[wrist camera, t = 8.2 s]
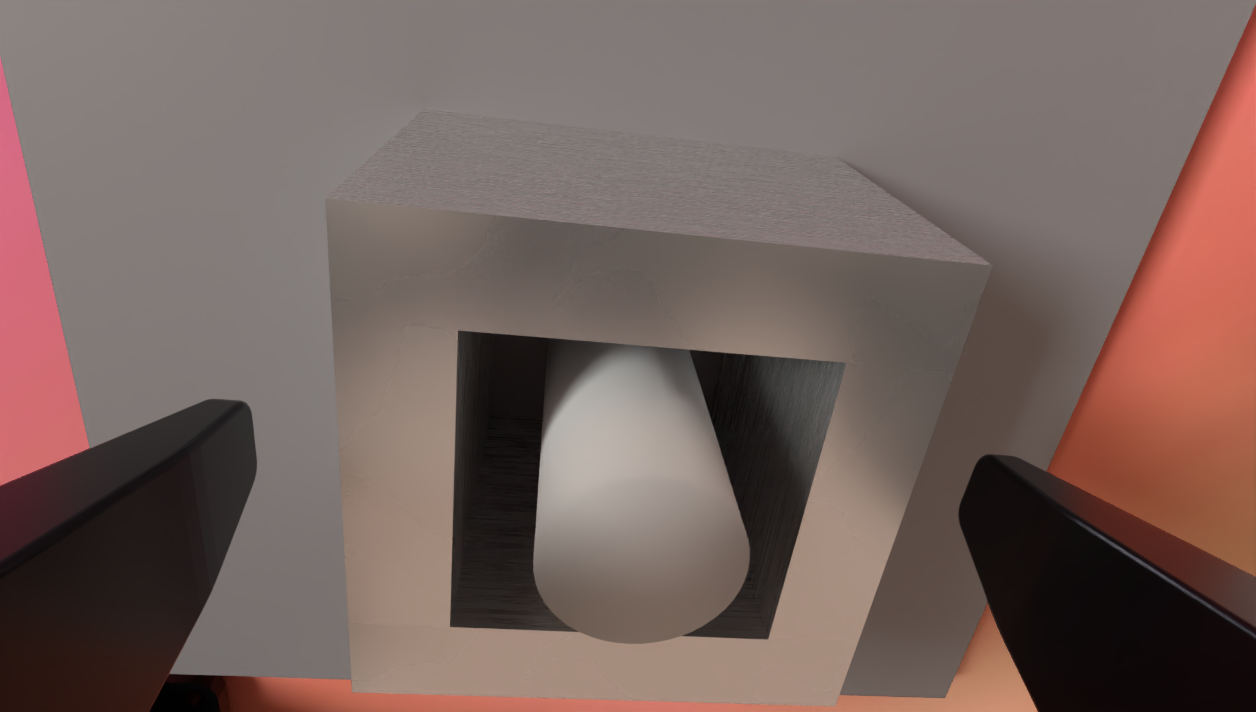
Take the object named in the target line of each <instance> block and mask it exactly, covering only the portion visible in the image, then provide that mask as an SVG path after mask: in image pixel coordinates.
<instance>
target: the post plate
mask: <svg viewBox="0 0 1256 712" xmlns="http://www.w3.org/2000/svg"><path fill="white" fill-rule="evenodd" d="M1255 5H1256V0H0V56H1V61H2V65H3V70H4V74H5V78H6V83H7V87H8V92H9V96H10V100H11V105H12V109H13V113H14V118H15V122H16V127H17V131H18V135H19V140H20V144H21V149H22V153H23V157H24V162H25V166H26V170H27V175H28V179H29V184H30V188H31V192H32V197H33V201H34V206H35V210H36V214H37V219H38V223H39V227H40V232H41V236H42V241H43V245H44V249H45V254H46V258H47V263H48V267H49V271H50V276H51V280H52V284H53V289H54V293H55V298H56V302H57V306H58V311H59V315H60V320H61V324H62V328H63V333H64V337H65V341H66V346H67V350H68V355H69V359H70V363H71V368H72V372H73V377H74V381H75V385H76V390H77V394H78V398H79V403H80V407H81V412H82V416H83V420H84V425H85V429H86V434H87V438H88V442H89V447H90V448H92V447H94V446H97V445H99V444H101V443H104V442H106V441H109V440H111V439H113V438H116V437H118V436H121V435H123V434H125V433H128V432H130V431H133V430H135V429H137V428H140V427H142V426H145V425H147V424H149V423H152V422H154V421H157V420H159V419H161V418H164V417H166V416H169V415H171V414H173V413H176V412H178V411H181V410H183V409H185V408H188V407H190V406H192V405H195V404H197V403H200V402H202V401H204V400H207V399H227V400H240V401H244V402H246V403H247V404H248V405H249V407H250V409H251V412H252V418H253V427H254V436H255V445H256V454H257V472H256V477H255V481H254V484H253V487H252V489H251V492H250V494H249V497H248V500H247V502H246V505H245V507H244V510H243V513H242V515H241V518H240V521H239V523H238V526H237V528H236V531H235V534H234V536H233V539H232V542H231V544H230V547H229V549H228V552H227V555H226V557H225V560H224V562H223V565H222V568H221V570H220V573H219V575H218V578H217V580H216V583H215V585H214V587H213V590H212V592H211V594H210V596H209V598H208V600H207V602H206V605H205V607H204V609H203V611H202V613H201V614H200V616H199V618H198V620H197V622H196V624H195V626H194V628H193V630H192V632H191V633H190V635H189V637H188V639H187V641H186V643H185V645H184V647H183V649H182V650H181V652H180V654H179V656H178V658H177V660H176V662H175V664H174V666H173V668H172V669H171V671H170V673H169V674H189V675H221V676H252V677H284V678H316V679H348V680H351V664H350V645H349V627H348V609H347V590H346V572H345V553H344V535H343V517H342V498H341V480H340V461H339V443H338V425H337V406H336V388H335V369H334V351H333V332H332V314H331V296H330V277H329V259H328V240H327V222H326V204H325V198H326V197H327V196H328V195H329V194H330V193H331V192H332V191H333V190H334V189H336V188H337V187H338V186H339V185H340V184H341V183H342V182H343V181H344V180H346V179H347V178H348V177H349V176H350V175H351V174H352V173H353V172H354V171H355V170H357V169H358V168H359V167H360V166H361V165H362V164H363V163H364V162H365V161H366V160H368V159H369V158H370V157H371V156H372V155H373V154H374V153H375V152H376V151H377V150H379V149H380V148H381V147H382V146H383V145H384V144H385V143H386V142H387V141H388V140H390V139H391V138H392V137H393V136H394V135H395V134H396V133H397V132H398V131H400V130H401V129H402V128H403V127H404V126H405V125H406V124H407V123H408V122H409V121H411V120H412V119H413V118H414V117H415V116H416V115H417V114H418V113H419V112H420V111H422V110H423V109H428V110H436V111H445V112H453V113H462V114H471V115H479V116H488V117H497V118H505V119H514V120H523V121H531V122H540V123H548V124H557V125H566V126H574V127H583V128H592V129H600V130H609V131H617V132H626V133H635V134H643V135H652V136H661V137H669V138H678V139H686V140H695V141H704V142H712V143H721V144H730V145H738V146H747V147H755V148H764V149H773V150H781V151H790V152H799V153H807V154H816V155H824V156H833V157H837V158H838V159H840V160H841V161H843V162H844V163H846V164H847V165H849V166H850V167H851V168H853V169H854V170H856V171H857V172H859V173H860V174H862V175H863V176H864V177H866V178H867V179H869V180H870V181H872V182H873V183H874V184H876V185H877V186H879V187H880V188H882V189H883V190H885V191H886V192H887V193H889V194H890V195H892V196H893V197H895V198H896V199H898V200H899V201H900V202H902V203H903V204H905V205H906V206H908V207H909V208H911V209H912V210H913V211H915V212H916V213H918V214H919V215H921V216H922V217H923V218H925V219H926V220H928V221H929V222H931V223H932V224H934V225H935V226H936V227H938V228H939V229H941V230H942V231H944V232H945V233H947V234H948V235H949V236H951V237H952V238H954V239H955V240H957V241H958V242H960V243H961V244H962V245H964V246H965V247H967V248H968V249H970V250H971V251H972V252H974V253H975V254H977V255H978V256H980V257H981V258H983V259H984V260H985V261H987V262H988V263H990V264H991V265H993V266H992V269H991V272H990V275H989V277H988V280H987V283H986V286H985V288H984V291H983V294H982V297H981V300H980V302H979V305H978V308H977V311H976V314H975V316H974V319H973V322H972V325H971V328H970V330H969V333H968V336H967V339H966V342H965V344H964V347H963V350H962V353H961V356H960V358H959V361H958V364H957V367H956V370H955V372H954V375H953V378H952V381H951V384H950V386H949V389H948V392H947V395H946V398H945V400H944V403H943V406H942V409H941V412H940V414H939V417H938V420H937V423H936V426H935V428H934V431H933V434H932V437H931V440H930V442H929V445H928V448H927V451H926V454H925V456H924V459H923V462H922V465H921V468H920V470H919V473H918V476H917V479H916V482H915V484H914V487H913V490H912V493H911V496H910V498H909V501H908V504H907V507H906V510H905V512H904V515H903V518H902V521H901V524H900V526H899V529H898V532H897V535H896V538H895V540H894V543H893V546H892V549H891V552H890V554H889V557H888V560H887V563H886V565H885V568H884V571H883V574H882V577H881V579H880V582H879V585H878V588H877V591H876V593H875V596H874V599H873V602H872V605H871V607H870V610H869V613H868V616H867V619H866V621H865V624H864V627H863V630H862V633H861V635H860V638H859V641H858V644H857V647H856V649H855V652H854V655H853V658H852V661H851V663H850V666H849V669H848V672H847V675H846V677H845V680H844V683H843V686H842V689H841V691H840V694H839V695H859V696H891V697H923V698H945V697H946V694H947V692H948V690H949V688H950V685H951V683H952V681H953V679H954V677H955V674H956V672H957V670H958V668H959V665H960V663H961V661H962V659H963V656H964V654H965V652H966V650H967V648H968V645H969V643H970V641H971V639H972V636H973V634H974V632H975V630H976V627H977V625H978V623H979V621H980V619H981V616H982V614H983V612H984V610H985V607H986V605H987V603H988V601H987V598H986V596H985V593H984V590H983V587H982V585H981V582H980V579H979V576H978V574H977V571H976V568H975V565H974V563H973V560H972V557H971V555H970V552H969V549H968V546H967V544H966V541H965V538H964V535H963V533H962V530H961V527H960V524H959V518H958V511H959V505H960V502H961V499H962V497H963V494H964V492H965V489H966V487H967V484H968V482H969V479H970V477H971V474H972V472H973V469H974V467H975V464H976V463H977V461H978V460H979V459H980V458H981V457H982V456H984V455H987V454H994V455H1009V456H1015V457H1018V458H1020V459H1022V460H1024V461H1026V462H1028V463H1030V464H1032V465H1034V466H1036V467H1038V468H1040V469H1042V470H1044V471H1047V469H1048V467H1049V465H1050V462H1051V460H1052V458H1053V456H1054V453H1055V451H1056V449H1057V447H1058V445H1059V442H1060V440H1061V438H1062V436H1063V433H1064V431H1065V429H1066V427H1067V424H1068V422H1069V420H1070V418H1071V416H1072V413H1073V411H1074V409H1075V407H1076V404H1077V402H1078V400H1079V398H1080V395H1081V393H1082V391H1083V389H1084V387H1085V384H1086V382H1087V380H1088V378H1089V375H1090V373H1091V371H1092V369H1093V366H1094V364H1095V362H1096V360H1097V358H1098V355H1099V353H1100V351H1101V349H1102V346H1103V344H1104V342H1105V340H1106V337H1107V335H1108V333H1109V331H1110V329H1111V326H1112V324H1113V322H1114V320H1115V317H1116V315H1117V313H1118V311H1119V308H1120V306H1121V304H1122V302H1123V300H1124V297H1125V295H1126V293H1127V291H1128V288H1129V286H1130V284H1131V282H1132V279H1133V277H1134V275H1135V273H1136V271H1137V268H1138V266H1139V264H1140V262H1141V259H1142V257H1143V255H1144V253H1145V250H1146V248H1147V246H1148V244H1149V242H1150V239H1151V237H1152V235H1153V233H1154V230H1155V228H1156V226H1157V224H1158V221H1159V219H1160V217H1161V215H1162V213H1163V210H1164V208H1165V206H1166V204H1167V201H1168V199H1169V197H1170V195H1171V192H1172V190H1173V188H1174V186H1175V184H1176V181H1177V179H1178V177H1179V175H1180V172H1181V170H1182V168H1183V166H1184V163H1185V161H1186V159H1187V157H1188V154H1189V152H1190V150H1191V148H1192V146H1193V143H1194V141H1195V139H1196V137H1197V134H1198V132H1199V130H1200V128H1201V125H1202V123H1203V121H1204V119H1205V117H1206V114H1207V112H1208V110H1209V108H1210V105H1211V103H1212V101H1213V99H1214V96H1215V94H1216V92H1217V90H1218V88H1219V85H1220V83H1221V81H1222V79H1223V76H1224V74H1225V72H1226V70H1227V67H1228V65H1229V63H1230V61H1231V59H1232V56H1233V54H1234V52H1235V50H1236V47H1237V45H1238V43H1239V41H1240V38H1241V36H1242V34H1243V32H1244V30H1245V27H1246V25H1247V23H1248V21H1249V18H1250V16H1251V14H1252V12H1253V9H1254V7H1255ZM721 354H722V352H712V351H700V350H688V349H676V348H664V347H652V346H640V345H628V344H616V343H604V342H592V341H580V340H568V339H556V338H544V337H532V336H520V335H508V334H496V333H494V341H493V361H492V381H491V401H490V414H496V415H510V416H524V417H538V418H543V422H542V437H541V452H540V467H539V482H538V498H537V513H536V528H535V543H534V558H533V572H534V578H535V583H536V586H537V589H538V592H539V594H540V596H541V597H542V599H543V601H544V603H545V604H546V605H547V607H548V608H549V609H550V610H551V612H552V613H554V614H555V615H556V616H557V617H558V618H559V619H560V620H561V621H563V622H564V623H565V624H567V625H568V626H569V627H571V628H573V629H575V630H577V631H578V632H580V633H583V634H585V635H588V636H590V637H593V638H596V639H600V640H603V641H609V642H614V643H623V644H646V643H655V642H660V641H665V640H670V639H673V638H676V637H680V636H682V635H685V634H687V633H690V632H692V631H694V630H696V629H698V628H700V627H702V626H704V625H705V624H707V623H708V622H710V621H711V620H713V619H714V618H716V617H717V616H718V615H719V614H720V613H721V612H723V611H724V610H725V609H726V608H727V607H728V605H729V604H730V603H731V602H732V601H733V600H734V598H735V597H736V595H737V594H738V593H739V591H740V589H741V587H742V585H743V583H744V581H745V578H746V575H747V572H748V568H749V562H750V548H749V542H748V537H747V534H746V531H745V528H744V524H743V521H742V518H741V515H740V511H739V508H738V505H737V502H736V499H735V495H734V492H733V489H732V486H731V483H730V479H729V476H728V473H727V470H726V466H725V463H724V460H723V457H722V454H721V450H720V447H719V444H718V441H717V438H716V434H715V431H714V428H713V425H712V421H711V418H710V415H709V414H710V409H711V404H712V399H713V394H714V389H715V384H716V379H717V374H718V369H719V364H720V359H721Z"/></svg>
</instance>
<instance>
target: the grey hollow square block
mask: <svg viewBox="0 0 1256 712" xmlns="http://www.w3.org/2000/svg"><path fill="white" fill-rule="evenodd" d="M325 204H326V222H327V240H328V259H329V277H330V296H331V314H332V332H333V351H334V369H335V388H336V406H337V425H338V443H339V461H340V480H341V498H342V517H343V535H344V553H345V572H346V590H347V609H348V627H349V645H350V664H351V682H352V692H358V693H393V694H427V695H461V696H495V697H529V698H563V699H598V700H632V701H666V702H700V703H734V704H768V705H803V706H835V705H836V703H837V700H838V697H839V694H840V691H841V689H842V686H843V683H844V680H845V677H846V675H847V672H848V669H849V666H850V663H851V661H852V658H853V655H854V652H855V649H856V647H857V644H858V641H859V638H860V635H861V633H862V630H863V627H864V624H865V621H866V619H867V616H868V613H869V610H870V607H871V605H872V602H873V599H874V596H875V593H876V591H877V588H878V585H879V582H880V579H881V577H882V574H883V571H884V568H885V565H886V563H887V560H888V557H889V554H890V552H891V549H892V546H893V543H894V540H895V538H896V535H897V532H898V529H899V526H900V524H901V521H902V518H903V515H904V512H905V510H906V507H907V504H908V501H909V498H910V496H911V493H912V490H913V487H914V484H915V482H916V479H917V476H918V473H919V470H920V468H921V465H922V462H923V459H924V456H925V454H926V451H927V448H928V445H929V442H930V440H931V437H932V434H933V431H934V428H935V426H936V423H937V420H938V417H939V414H940V412H941V409H942V406H943V403H944V400H945V398H946V395H947V392H948V389H949V386H950V384H951V381H952V378H953V375H954V372H955V370H956V367H957V364H958V361H959V358H960V356H961V353H962V350H963V347H964V344H965V342H966V339H967V336H968V333H969V330H970V328H971V325H972V322H973V319H974V316H975V314H976V311H977V308H978V305H979V302H980V300H981V297H982V294H983V291H984V288H985V286H986V283H987V280H988V277H989V275H990V272H991V269H992V266H993V265H991V264H990V263H988V262H987V261H985V260H984V259H983V258H981V257H980V256H978V255H977V254H975V253H974V252H972V251H971V250H970V249H968V248H967V247H965V246H964V245H962V244H961V243H960V242H958V241H957V240H955V239H954V238H952V237H951V236H949V235H948V234H947V233H945V232H944V231H942V230H941V229H939V228H938V227H936V226H935V225H934V224H932V223H931V222H929V221H928V220H926V219H925V218H923V217H922V216H921V215H919V214H918V213H916V212H915V211H913V210H912V209H911V208H909V207H908V206H906V205H905V204H903V203H902V202H900V201H899V200H898V199H896V198H895V197H893V196H892V195H890V194H889V193H887V192H886V191H885V190H883V189H882V188H880V187H879V186H877V185H876V184H874V183H873V182H872V181H870V180H869V179H867V178H866V177H864V176H863V175H862V174H860V173H859V172H857V171H856V170H854V169H853V168H851V167H850V166H849V165H847V164H846V163H844V162H843V161H841V160H840V159H838V158H837V157H833V156H824V155H816V154H807V153H799V152H790V151H781V150H773V149H764V148H755V147H747V146H738V145H730V144H721V143H712V142H704V141H695V140H686V139H678V138H669V137H661V136H652V135H643V134H635V133H626V132H617V131H609V130H600V129H592V128H583V127H574V126H566V125H557V124H548V123H540V122H531V121H523V120H514V119H505V118H497V117H488V116H479V115H471V114H462V113H453V112H445V111H436V110H428V109H423V110H422V111H420V112H419V113H418V114H417V115H416V116H415V117H414V118H413V119H412V120H411V121H409V122H408V123H407V124H406V125H405V126H404V127H403V128H402V129H401V130H400V131H398V132H397V133H396V134H395V135H394V136H393V137H392V138H391V139H390V140H388V141H387V142H386V143H385V144H384V145H383V146H382V147H381V148H380V149H379V150H377V151H376V152H375V153H374V154H373V155H372V156H371V157H370V158H369V159H368V160H366V161H365V162H364V163H363V164H362V165H361V166H360V167H359V168H358V169H357V170H355V171H354V172H353V173H352V174H351V175H350V176H349V177H348V178H347V179H346V180H344V181H343V182H342V183H341V184H340V185H339V186H338V187H337V188H336V189H334V190H333V191H332V192H331V193H330V194H329V195H328V196H327V197H326V198H325ZM494 333H496V334H508V335H520V336H532V337H544V338H556V339H568V340H580V341H592V342H604V343H616V344H628V345H640V346H652V347H664V348H676V349H688V350H700V351H712V352H722V354H721V359H720V364H719V369H718V374H717V379H716V384H715V389H714V394H713V399H712V404H711V409H710V414H709V415H710V418H711V421H712V425H713V428H714V431H715V434H716V438H717V441H718V444H719V447H720V450H721V454H722V457H723V460H724V463H725V466H726V470H727V473H728V476H729V479H730V483H731V486H732V489H733V492H734V495H735V499H736V502H737V505H738V508H739V511H740V515H741V518H742V521H743V524H744V528H745V531H746V534H747V537H748V542H749V548H750V562H749V568H748V572H747V575H746V578H745V581H744V583H743V585H742V587H741V589H740V591H739V593H738V594H737V595H736V597H735V598H734V600H733V601H732V602H731V603H730V604H729V605H728V607H727V608H726V609H725V610H724V611H723V612H721V613H720V614H719V615H718V616H717V617H716V618H714V619H713V620H711V621H710V622H708V623H707V624H705V625H704V626H702V627H700V628H698V629H696V630H694V631H692V632H690V633H687V634H685V635H682V636H680V637H676V638H673V639H670V640H665V641H660V642H655V643H646V644H623V643H614V642H609V641H603V640H600V639H596V638H593V637H590V636H588V635H585V634H583V633H580V632H578V631H577V630H575V629H573V628H571V627H569V626H568V625H567V624H565V623H564V622H563V621H561V620H560V619H559V618H558V617H557V616H556V615H555V614H554V613H552V612H551V610H550V609H549V608H548V607H547V605H546V604H545V603H544V601H543V599H542V597H541V596H540V594H539V592H538V589H537V586H536V583H535V578H534V572H533V558H534V543H535V528H536V513H537V498H538V482H539V467H540V452H541V437H542V422H543V418H538V417H524V416H510V415H496V414H490V401H491V381H492V361H493V341H494Z"/></svg>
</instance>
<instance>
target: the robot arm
mask: <svg viewBox="0 0 1256 712" xmlns="http://www.w3.org/2000/svg"><path fill="white" fill-rule="evenodd" d="M256 472H257V454H256V445H255V436H254V427H253V418H252V412H251V409H250V407H249V405H248V404H247V403H246V402H244V401H240V400H227V399H207V400H204V401H202V402H200V403H197V404H195V405H192V406H190V407H188V408H185V409H183V410H181V411H178V412H176V413H173V414H171V415H169V416H166V417H164V418H161V419H159V420H157V421H154V422H152V423H149V424H147V425H145V426H142V427H140V428H137V429H135V430H133V431H130V432H128V433H125V434H123V435H121V436H118V437H116V438H113V439H111V440H109V441H106V442H104V443H101V444H99V445H97V446H94V447H92V448H89V449H87V450H85V451H82V452H80V453H77V454H75V455H73V456H70V457H68V458H66V459H63V460H61V461H58V462H56V463H54V464H51V465H49V466H46V467H44V468H42V469H39V470H37V471H34V472H32V473H30V474H27V475H25V476H22V477H20V478H18V479H15V480H13V481H10V482H8V483H6V484H3V485H1V486H0V712H230V710H229V703H228V697H227V691H226V685H225V682H224V680H223V678H222V677H221V676H219V675H189V674H169V673H170V671H171V669H172V668H173V666H174V664H175V662H176V660H177V658H178V656H179V654H180V652H181V650H182V649H183V647H184V645H185V643H186V641H187V639H188V637H189V635H190V633H191V632H192V630H193V628H194V626H195V624H196V622H197V620H198V618H199V616H200V614H201V613H202V611H203V609H204V607H205V605H206V602H207V600H208V598H209V596H210V594H211V592H212V590H213V587H214V585H215V583H216V580H217V578H218V575H219V573H220V570H221V568H222V565H223V562H224V560H225V557H226V555H227V552H228V549H229V547H230V544H231V542H232V539H233V536H234V534H235V531H236V528H237V526H238V523H239V521H240V518H241V515H242V513H243V510H244V507H245V505H246V502H247V500H248V497H249V494H250V492H251V489H252V487H253V484H254V481H255V477H256ZM958 518H959V524H960V527H961V530H962V533H963V535H964V538H965V541H966V544H967V546H968V549H969V552H970V555H971V557H972V560H973V563H974V565H975V568H976V571H977V574H978V576H979V579H980V582H981V585H982V587H983V590H984V593H985V596H986V598H987V601H988V604H989V607H990V609H991V612H992V614H993V617H994V619H995V622H996V624H997V627H998V629H999V631H1000V634H1001V636H1002V638H1003V640H1004V642H1005V645H1006V647H1007V649H1008V651H1009V653H1010V655H1011V657H1012V659H1013V661H1014V663H1015V665H1016V667H1017V669H1018V672H1019V674H1020V676H1021V678H1022V680H1023V682H1024V684H1025V686H1026V688H1027V690H1028V692H1029V694H1030V696H1031V698H1032V700H1033V702H1034V704H1035V707H1036V709H1037V711H1038V712H1256V577H1255V576H1253V575H1251V574H1249V573H1247V572H1245V571H1243V570H1241V569H1239V568H1237V567H1235V566H1233V565H1231V564H1229V563H1227V562H1225V561H1223V560H1221V559H1219V558H1217V557H1215V556H1213V555H1211V554H1209V553H1207V552H1205V551H1203V550H1201V549H1199V548H1197V547H1195V546H1193V545H1191V544H1189V543H1187V542H1185V541H1183V540H1181V539H1179V538H1177V537H1175V536H1173V535H1171V534H1169V533H1167V532H1165V531H1163V530H1161V529H1159V528H1157V527H1155V526H1153V525H1151V524H1149V523H1147V522H1145V521H1143V520H1142V519H1140V518H1138V517H1136V516H1134V515H1132V514H1130V513H1128V512H1126V511H1124V510H1122V509H1120V508H1118V507H1116V506H1114V505H1112V504H1110V503H1108V502H1106V501H1104V500H1102V499H1100V498H1098V497H1096V496H1094V495H1092V494H1090V493H1088V492H1086V491H1084V490H1082V489H1080V488H1078V487H1076V486H1074V485H1072V484H1070V483H1068V482H1066V481H1064V480H1062V479H1060V478H1058V477H1056V476H1054V475H1052V474H1050V473H1048V472H1046V471H1044V470H1042V469H1040V468H1038V467H1036V466H1034V465H1032V464H1030V463H1028V462H1026V461H1024V460H1022V459H1020V458H1018V457H1015V456H1009V455H994V454H987V455H984V456H982V457H981V458H980V459H979V460H978V461H977V463H976V464H975V467H974V469H973V472H972V474H971V477H970V479H969V482H968V484H967V487H966V489H965V492H964V494H963V497H962V499H961V502H960V505H959V511H958Z"/></svg>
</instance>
